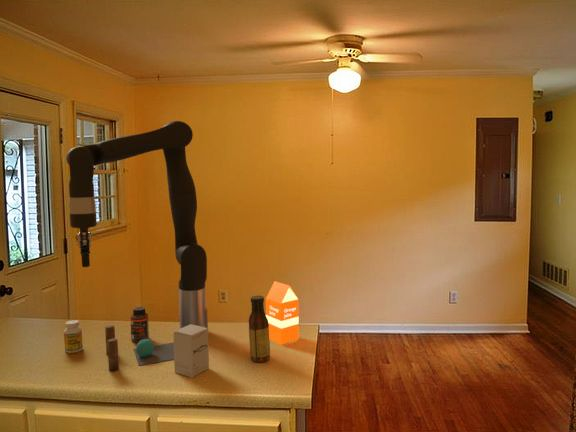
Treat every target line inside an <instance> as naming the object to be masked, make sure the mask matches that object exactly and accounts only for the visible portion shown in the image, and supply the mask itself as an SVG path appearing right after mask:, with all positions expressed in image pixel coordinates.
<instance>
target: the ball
mask: <svg viewBox="0 0 576 432" xmlns="http://www.w3.org/2000/svg"><path fill="white" fill-rule="evenodd" d="M154 345H155V344H154V342H153V341H152V340H151V339H143V340H141V341H139V342H137V344H136V346H135V349H136V352H137V354H138V355H139V356H141V357H148V356H150V355H151V354H152V353H153V351H154Z"/></svg>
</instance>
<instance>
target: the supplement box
mask: <svg viewBox="0 0 576 432" xmlns="http://www.w3.org/2000/svg"><path fill="white" fill-rule="evenodd" d="M172 333H173V342H174V360H173V361H174V363H173V364H174V366H173V367H174V372H175V373H176V374H180V375H183V376H187V377H188V378H194V377H195V376H197V375H199V374H201V373H202V372H205V371H206V370H208V369H210V359H209V358H210V357H209V353H210V352H209V349H210V348H209V327H208V328H205V327H201V326H196V325H192V324H190V325H188V326H185V327H183V328H181V329H180V328H179V329H175V330H174V331H173V332H172Z"/></svg>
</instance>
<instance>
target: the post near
mask: <svg viewBox="0 0 576 432" xmlns="http://www.w3.org/2000/svg"><path fill="white" fill-rule="evenodd" d="M107 343H108V355H107V363H108V372H112V373H113V372H114V373H115V372H117V371H119V370H120V366H119V365H120V363H119V341H118V339H117V338H115V339H109V340H108V341H107Z"/></svg>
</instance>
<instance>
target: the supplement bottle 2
mask: <svg viewBox="0 0 576 432" xmlns="http://www.w3.org/2000/svg"><path fill="white" fill-rule="evenodd" d="M149 328H150V325H149V315H148V313H147V312H146V308H145V307H144V306H137V307H134V308H133V309H132V314H131V315H130V339H131V342H133V343H138V342H139V341H141V340H143V339H149V338H150V331H149V330H150V329H149ZM149 340H150V339H149Z"/></svg>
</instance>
